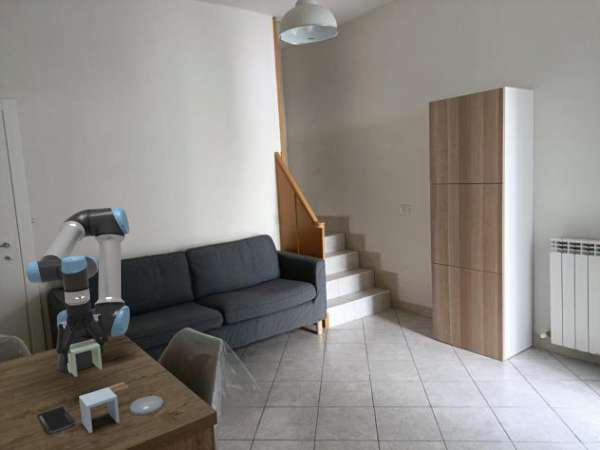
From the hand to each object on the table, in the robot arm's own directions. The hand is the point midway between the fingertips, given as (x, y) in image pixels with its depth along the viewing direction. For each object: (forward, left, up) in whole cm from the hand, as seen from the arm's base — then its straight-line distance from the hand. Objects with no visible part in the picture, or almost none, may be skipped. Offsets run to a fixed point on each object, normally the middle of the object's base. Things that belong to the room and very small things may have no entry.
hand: (85, 367), depth 157 cm
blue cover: (+21, -2, -11) cm, 23 cm away
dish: (+22, +12, -11) cm, 27 cm away
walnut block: (+11, +7, -11) cm, 17 cm away
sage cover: (0, 0, -1) cm, 1 cm away
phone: (+10, -12, -11) cm, 19 cm away
